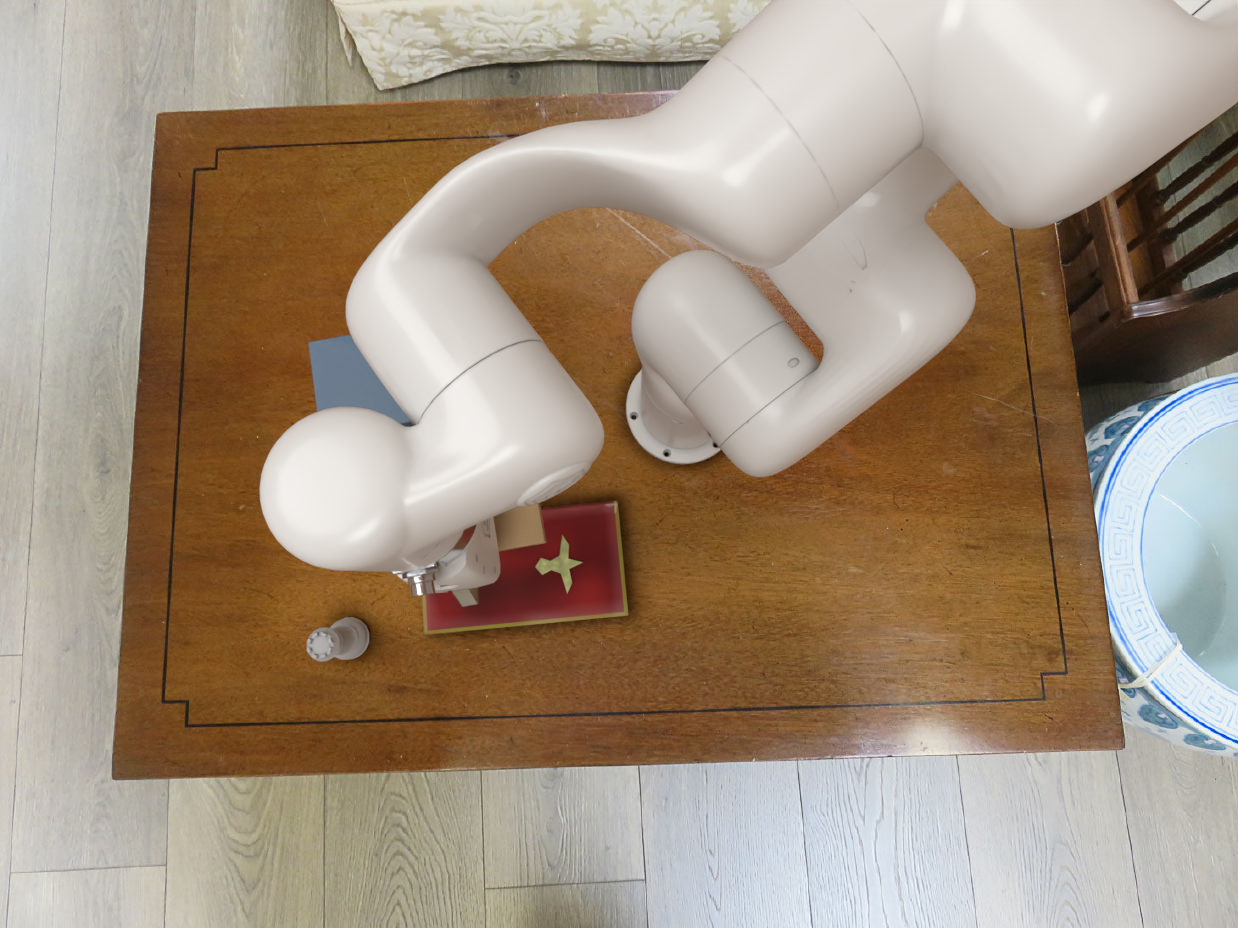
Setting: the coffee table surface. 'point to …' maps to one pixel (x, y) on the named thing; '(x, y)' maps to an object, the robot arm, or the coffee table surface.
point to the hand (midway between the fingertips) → (476, 528)
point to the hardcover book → (547, 577)
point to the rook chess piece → (339, 640)
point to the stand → (349, 379)
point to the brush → (520, 528)
